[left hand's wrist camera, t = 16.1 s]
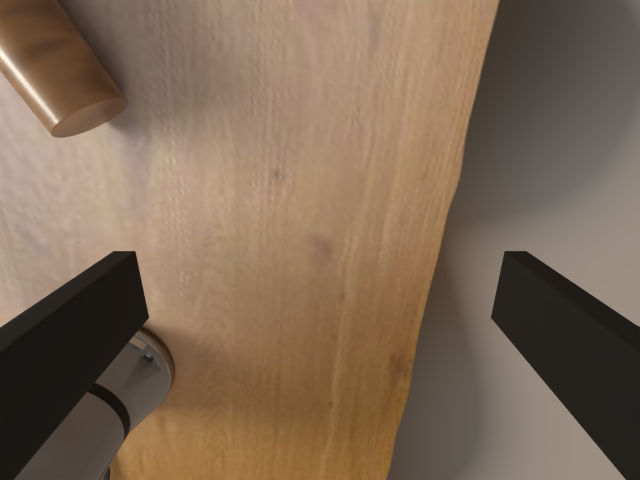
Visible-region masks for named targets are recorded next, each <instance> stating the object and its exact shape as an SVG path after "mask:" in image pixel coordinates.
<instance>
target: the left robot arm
mask: <svg viewBox="0 0 640 480" xmlns="http://www.w3.org/2000/svg"><path fill="white" fill-rule="evenodd" d="M148 318H149V315H148V311H147V306H146V301H145V296H144V291H143V286H142V281H141V276H140V272H139V267H138V262H137V257H136V252H135V251H113V252H112V253H110V254H109V255H107V256H106V257H104V258H103V259H102V260H100V261H99V262H97V263H96V264H94V265H93V266H91V267H90V268H88V269H87V270H85V271H84V272H82V273H81V274H79V275H78V276H76V277H75V278H73V279H72V280H70V281H69V282H67V283H66V284H64V285H63V286H61V287H60V288H58V289H57V290H55V291H54V292H52V293H51V294H49V295H48V296H46V297H45V298H44V299H42V300H41V301H39V302H38V303H36V304H35V305H33V306H32V307H30V308H29V309H27V310H26V311H24V312H23V313H21V314H20V315H18V316H17V317H15V318H14V319H12V320H11V321H9V322H8V323H6V324H5V325H3V326H2V327H0V480H101V479H102V478H103V476H104V480H110V464H111V462H112V461H113V459H114V457H115V456H116V454H117V452H118V451H119V449H120V447H121V445H122V444H123V442H124V440H125V439H126V437H127V435H128V434H129V432H130V431H131V430H132V429H134V428H135V427H136V426H137V425H138V424H139V423H140V422H141V421H142V420H144V419H145V418H146V417H147V416H148V415H149V414H150V413H151V412H152V411H153V410H155V409H156V408H157V407H158V406H159V405H160V404H161V403H162V402H163V401H164V399H165V398H166V396H167V394H168V392H169V390H170V388H171V386H172V384H173V381H174V377H175V368H174V363H173V360H172V357H171V355H170V353H169V352H168V350H167V349H166V347H165V346H164V345H163V343H162V342H161V341H160V340H159V339H157V338H156V337H155V336H154V335H153V334H151V333H150V332H148V331H147V330H145V329H143V328H141V327H142V325H143V324H144V323H145V322H146V321H147V319H148ZM491 318H492V319H493V321H494V322H495V323H496V324H497V325H498V327H499V328H500V329H501V330H502V331H503V333H504V334H505V335H506V336H507V337H508V339H509V340H510V341H511V342H512V343H513V345H514V346H515V347H516V348H517V349H518V351H519V352H520V353H521V354H522V355H523V357H524V358H525V359H526V360H527V361H528V363H529V364H530V365H531V366H532V367H533V369H534V370H535V371H536V372H537V373H538V375H539V376H540V377H541V378H542V379H543V381H544V382H545V383H546V384H547V385H548V387H549V388H550V389H551V390H552V391H553V393H554V394H555V395H556V396H557V397H558V399H559V400H560V401H561V402H562V403H563V405H564V406H565V407H566V408H567V409H568V411H569V412H570V413H571V414H572V415H573V417H574V418H575V419H576V420H577V421H578V423H579V424H580V425H581V426H582V427H583V429H584V430H585V431H586V432H587V433H588V435H589V436H590V437H591V438H592V439H593V441H594V442H595V443H596V444H597V445H598V447H599V448H600V449H601V450H602V451H603V453H604V454H605V455H606V456H607V457H608V459H609V460H610V461H611V462H612V463H613V465H614V466H615V467H616V468H617V469H618V471H619V472H620V473H621V474H622V475H623V477H624V478H625V479H626V480H640V327H639V326H637V325H635V324H634V323H632V322H631V321H629V320H628V319H626V318H625V317H623V316H622V315H620V314H619V313H617V312H616V311H614V310H613V309H611V308H610V307H608V306H607V305H605V304H604V303H602V302H601V301H599V300H598V299H596V298H595V297H594V296H592V295H590V294H589V293H588V292H586V291H585V290H583V289H582V288H580V287H579V286H577V285H576V284H574V283H573V282H571V281H570V280H568V279H567V278H565V277H564V276H562V275H561V274H559V273H558V272H556V271H555V270H553V269H552V268H550V267H549V266H547V265H546V264H544V263H543V262H541V261H540V260H538V259H537V258H535V257H534V256H533V255H531V254H530V253H528V252H527V251H505V252H504V257H503V262H502V267H501V272H500V277H499V281H498V286H497V291H496V296H495V301H494V306H493V311H492V315H491Z"/></svg>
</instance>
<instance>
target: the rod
mask: <svg viewBox="0 0 640 480" xmlns="http://www.w3.org/2000/svg"><path fill="white" fill-rule="evenodd" d="M0 71H1V73H2V74H3V75H4V76H5V78H6V79H7V80H8V81H9V83H10V84H11V85H12V86H13V88H14V89H15V90H16V91H17V93H18V94H19V95H20V96H21V98H22V99H23V100H24V101H25V103H26V104H27V105H28V106H29V107H30V109H31V110H32V111H33V112H34V114H35V115H36V116H37V117H38V119H39V120H40V121H41V122H42V124H43V125H44V126H45V127H46V129H47V130H48V131H49V132H50V134H51V135H52V136H54V137H57V138H62V137H69V136H73V135H77V134H80V133H83V132H86V131H88V130H91V129H93V128H95V127H97V126H99V125H101V124H103V123H105V122H107V121H109V120H110V119H112V118H113V117H115V116H116V115H117V114H119V113H120V112H121V111H122V110H123V109H124V108H125V106H126V105H127V100H126V98H125V97H124V95H123V94H122V92H121V91H120V90H119V88H118V87H117V85H116V84H115V82H114V81H113V80H112V78H111V77H110V75H109V74H108V72H107V71H106V70H105V68H104V67H103V65H102V64H101V62H100V61H99V60H98V58H97V57H96V55H95V54H94V53H93V51H92V50H91V48H90V47H89V45H88V44H87V43H86V41H85V40H84V38H83V37H82V35H81V34H80V33H79V31H78V30H77V28H76V27H75V25H74V24H73V23H72V21H71V20H70V18H69V17H68V16H67V14H66V13H65V11H64V10H63V8H62V7H61V6H60V4H59V3H58V1H57V0H0Z"/></svg>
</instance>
